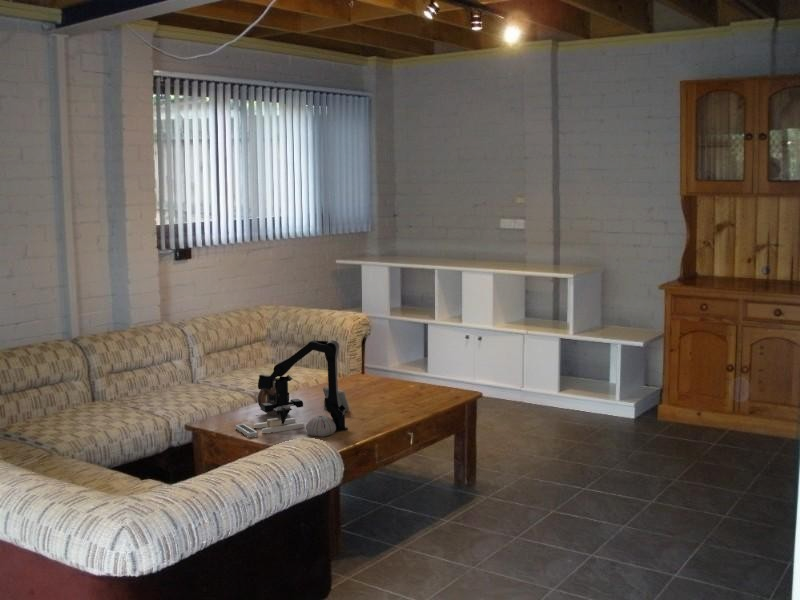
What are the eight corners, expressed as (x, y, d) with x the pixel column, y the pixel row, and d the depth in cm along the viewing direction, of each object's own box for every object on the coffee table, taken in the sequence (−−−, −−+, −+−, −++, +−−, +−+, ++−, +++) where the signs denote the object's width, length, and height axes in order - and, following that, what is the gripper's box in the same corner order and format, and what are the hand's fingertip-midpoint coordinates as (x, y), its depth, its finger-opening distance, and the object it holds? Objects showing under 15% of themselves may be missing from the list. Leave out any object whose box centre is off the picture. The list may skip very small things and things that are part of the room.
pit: (257, 436, 393) (257, 432, 393) (249, 438, 391) (249, 433, 391) (244, 428, 407) (244, 423, 406) (235, 429, 405) (235, 425, 404)
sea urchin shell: (341, 431, 401) (341, 413, 400) (328, 439, 389) (327, 421, 387) (314, 428, 406) (314, 411, 405) (300, 436, 393) (300, 418, 392)
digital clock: (350, 412, 434) (350, 390, 433) (333, 414, 430) (333, 392, 429) (337, 404, 448) (336, 383, 447) (320, 407, 444) (319, 386, 443)
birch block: (281, 429, 405) (281, 420, 404) (271, 430, 402) (271, 422, 402) (277, 426, 409) (277, 418, 409) (267, 428, 406) (266, 419, 406)
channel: (304, 427, 407) (304, 423, 407) (263, 434, 397) (262, 429, 397) (294, 422, 417) (293, 417, 416) (253, 428, 406) (253, 424, 406)
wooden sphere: (278, 408, 442) (277, 378, 440) (295, 414, 431) (295, 383, 429) (252, 413, 432) (251, 383, 430) (269, 419, 421) (268, 388, 419)
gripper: (293, 384, 417) (293, 417, 419) (255, 389, 408) (256, 422, 410) (303, 388, 408) (304, 422, 410) (265, 394, 398) (265, 428, 400)
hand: (282, 423), depth 408 cm, fingers closed
